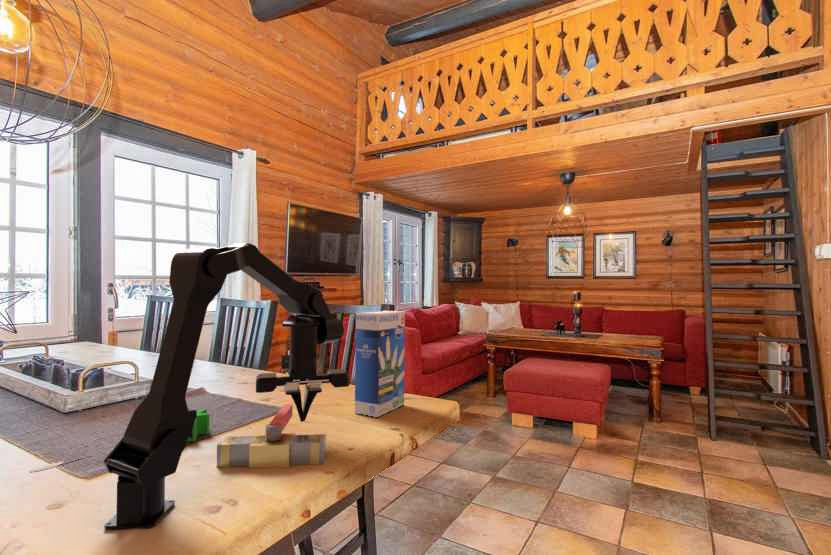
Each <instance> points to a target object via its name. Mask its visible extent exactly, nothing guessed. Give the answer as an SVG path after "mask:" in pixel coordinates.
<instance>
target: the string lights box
mask: <svg viewBox="0 0 831 555" xmlns="http://www.w3.org/2000/svg"><path fill="white" fill-rule="evenodd" d="M405 318H406V312H405V310H403V311H400V310H381V311H365V312H356V313H355V356H354V357H355V359H354V360H355V364H354V365H355V369H354V372H355V373H354V414H357V415H361V414H363V415H362V416H366V415H368V416H367V417H371V416H373V417H372V418H376V417H378V418H379V416H380V417H381V415H382V416H384V415H386V414H388V413H387V412H389V411H391V410H393V409H395V410H397V409H399V408H398V407H400V406H402V405H404V406H405V349H406V348H405V343H406V342H405V339H406V336H405V335H406V333H405V328H406V324H405V323H406V319H405ZM402 407H403V406H402ZM396 408H397V409H396ZM400 408H401V407H400ZM393 411H394V410H393ZM391 412H392V411H391ZM385 413H386V414H385ZM389 413H390V412H389ZM383 414H384V415H383Z"/></svg>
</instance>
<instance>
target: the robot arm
mask: <svg viewBox="0 0 831 555" xmlns="http://www.w3.org/2000/svg"><path fill="white" fill-rule="evenodd" d="M239 271H242V272H243V273H244V274H246V275H247V276H249V277H250V278H251V279H253V280H254V281H256V282H257V283H258V284H260V285H262V287H264V288H266V289H267V290H268V291H270V292H271V293H273V294H274V295H275V296H276V297H277V298H278V301H279V304H280V305H281V306H282V307H283V308H284V309H285V311H286V312H288V313H289V314H290V315H289V316H288V318H287V319H286V320H284V321H283V322H282V324H281V326H282V327H284V328H289V354H282V355H281V354H280V355H281V356H280V370H281V371H288V372H287V374H288V375H287V376H277V373H276V372H267V373H266V372H264V373H263V372H262V373H259V374H258V375H256V377H255V393H256V394H257V393H258V394H262V393H263V394H264V393H273V392H274V391H275V389H277V387H284V392H285V395H286V396H291V399H292V400H293V403H294V404H295V407H296V411H297V414H298V417H299V420H300V422H304V423H305V421H306V420H307V416H308V414H309V411H310V409H311V406H312V404H313V402H314V400H315V398H316V396H317V394H318V393H319V394H321V393H322V392H323V390H322V384H330V385H332V386H333V387H334V388H347V387H350V375H349V373H348V372H346V371H345V369H343V368H337V369H335V368H334V369H327V372H326V373H324V374H323V373H322V374H318V345H323V344H329V343H333V342H338V341H340V340H341V339H342V338H343V336H344V332H345V327H344V324H343V322H342V321H341V320H340V319H339V318H338V313H337V312H331V311H330V309H329V307H328V305H327V302H326V300H325V299H324V297H323V293H322V291H321V290H320V289H319V288H317V287H315V286H312V285H311V284H308V283H305V282H301V281H299V280H297V279H295V278H294V277H292V276H291V275H290V274H288V272H286V271H285V270H283V269H282V268H281V267H280V266H278V265H277V264H276V263H275V262H273V261H272V260H271V259H270V258H269V257H267V256H266V255H265V254H263V253H262V252H261V251H260V250H259V248H258V247H257V246H256V245H255V244H252V243H248V242H244V243H232V244H230V245H228V246H223V247H217V248H213V247H208V248H206V247H205V248H203V247H200V248H185V249H182V250H181V251H178V252H176V253H175V254H174V255H173V257H172V260H171V263H170V272H169V286H170V291H171V294H172V297H173V301H172V302H173V303H172V307H171V309H170V314H169V318H168V322H167V325H166V329H165V333H164V336H163V340H162V344H161V347H160V352H159V355H158V358H157V362H156V366H155V370H154V375H153V378H152V381H151V386H150V389H149V392H148V393H147V395H146V396H145V398H144V399H143V400H142V401H141V403H140V404H139V405H138V406H137V407H136V409H134V411H133V413H132V415H131V418H130V419H129V423H128V424H127V427H126V429H125V431H124V434H123V437H122V438H121V439H120V440H119V442H118V443H117V444H116V445H115V446H114V447H113V448H112V449H113V450H112V451H109V454H108V455H107V456H105V458H104V460H103V464H104V465H105V468H106V470H107V472H108V473H110V474H115V475H117V482H116V514H115V515H113V517H111V518H110V519H109V520H108V521H107V522H106V523H104V524H103V526H104V527H103V528H104V529H105V530H118V529H120V530H122V529H140V528H141V529H144V528H145V529H146V528H153V527H155V526H156V525H157V524H158V523H159V522H160V521H161V519H162V518H164V516H165V515H167V513H168V512H169V511H170V510H171V508H173V506H174V505H175V503H176V500H175V499H165V498H166V496H165V494H166V493H165V492H166V491H165V490H166V478H167V477H169V476H170V475H173V474H176V472H177V469H178V466H179V464H180V460H181V456H182V453H183V452H184V451H185V449H186V447H187V444H188V443H189V442H188V438H190V439H192V438H193V435H192V429H193V425H194V422H195V419H196V417H197V411H198V410H197V409H193V408H189V406H188V404H187V399H186V397H187V396H186V395H187V391H188V388H189V387H188V386H189V382H190V379H191V375H192V372H193V367H194V363H195V360H196V355H197V350H198V348H199V344H200V338H201V335H202V331H203V330H202V329H203V327H204V323H205V319H206V314H207V311H208V307H209V305H210V304H211V303H212V301H213V300H214V299H215V298H216V296H218V294H219V293H220V292H221V291H222V288H223V286H224V284H225V281H226V279H227V277H228V275H231V274H233V273H237V272H239ZM302 385H303V386H304V399H303V402H302V392H301V389H300V386H302Z"/></svg>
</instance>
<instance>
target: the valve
mask: <svg viewBox="0 0 831 555" xmlns="http://www.w3.org/2000/svg"><path fill="white" fill-rule="evenodd" d="M326 456H327V434H324V433H321V434H320V433H316V434H297V433H295V432H294V433H293V432H292V433H285V432H284V433H281V439H279V440H276V441H267V440H266V433H258V434H257V435H242V436H241V435H228V436H224V437H223V438H222V439H221V440H220V441H219V442H218V443H217V444H216V468H230V467H248V468H249V469H268V468H269V469H270V468H271V469H273V468H274V469H275V468H290V466H292V465H293V466H294V465H295V466H298V465H311V466H312V465H313V466H315V465H323V464H324V463H325V460H326Z"/></svg>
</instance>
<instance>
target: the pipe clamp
mask: <svg viewBox="0 0 831 555" xmlns="http://www.w3.org/2000/svg"><path fill="white" fill-rule="evenodd" d="M196 411H197V417H196V419H195V422H194V425H193V429H192V435H193V438H192V439H190V438H188V441H194V442H193V443H195V442H197V441H196V440H197V439H198V436H200V435H199V434H204V435H209V434H210V416H211V415H210V414H211V413H208V410H207V408H201V409H199V410H196ZM208 433H209V434H208ZM197 435H198V436H197Z"/></svg>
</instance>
